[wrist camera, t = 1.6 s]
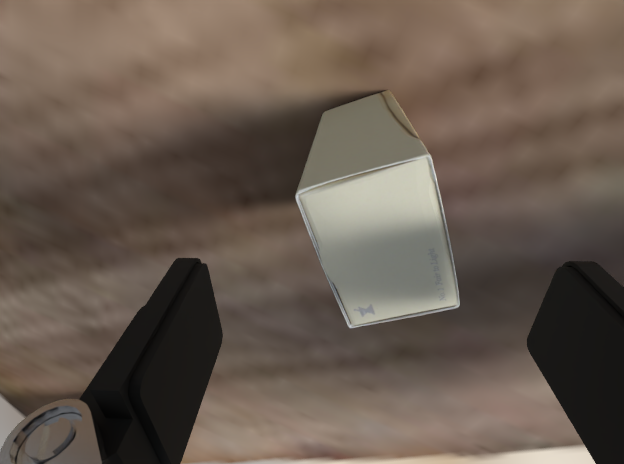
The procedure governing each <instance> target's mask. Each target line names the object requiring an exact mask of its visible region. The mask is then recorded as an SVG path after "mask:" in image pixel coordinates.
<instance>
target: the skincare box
mask: <svg viewBox="0 0 624 464" xmlns="http://www.w3.org/2000/svg"><path fill="white" fill-rule="evenodd" d="M295 198H296V201H297V204H298V207H299V209H300V212H301V215H302V217H303V220H304V222H305V225H306V228H307V230H308V232H309V235H310V238H311V240H312V243H313V245H314V248H315V251H316V253H317V256H318V258H319V261H320V263H321V266H322V268H323V270H324V273H325V275H326V277H327V279H328V282H329V284H330V287H331V289H332V291H333V293H334V295H335V298H336V300H337V302H338V305H339V307H340V309H341V311H342V314H343V316H344V318H345V320H346V323H347V325H348V327H349V328H355V327H360V326H366V325H372V324H377V323H384V322H388V321H394V320H399V319H405V318H410V317H416V316H421V315H426V314H430V313H435V312H440V311H445V310H450V309H455V308H457V307H459V305H460V301H459V291H458V284H457V278H456V271H455V265H454V260H453V254H452V249H451V244H450V239H449V234H448V229H447V224H446V219H445V214H444V210H443V205H442V200H441V196H440V191H439V187H438V182H437V178H436V174H435V170H434V166H433V161H432V158H431V155H430V154H429V153H428V151H427V149H426V148H425V146H424V144H423V143H422V141H421V140H420V138H419V136H418V135H417V133H416V131H415V130H414V128H413V127H412V125H411V123H410V122H409V120H408V119H407V117H406V115H405V114H404V112H403V110H402V109H401V107H400V106H399V104H398V102H397V101H396V99H395V98H394V96H393V95H392V93H391V92H390V91H389V90H387V91H384V92H381V93H378V94H375V95H371V96H368V97H365V98H362V99H359V100H356V101H353V102H350V103H347V104H344V105H341V106H339V107H336V108H333V109H330V110H328V111H325V112H324V113H323V115H322V117H321V120H320V123H319V126H318V129H317V132H316V136H315V138H314V141H313V144H312V147H311V150H310V153H309V156H308V159H307V162H306V165H305V168H304V171H303V174H302V177H301V180H300V183H299V186H298V189H297V192H296V195H295Z"/></svg>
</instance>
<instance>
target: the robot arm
mask: <svg viewBox="0 0 624 464" xmlns="http://www.w3.org/2000/svg"><path fill="white" fill-rule="evenodd" d="M222 337H223V334H222V328H221V324H220V319H219V315H218V310H217V306H216V301H215V297H214V293H213V288H212V284H211V279H210V275H209V270H208V267H207V265H206V264H205V263H201V261H200V259H198V258H177V259H176V260H175V261H174V262H173V264H172V266H171V267H170V269H169V270H168V272H167V273H166V275H165V276H164V278H163V279H162V281H161V282H160V284H159V285H158V287H157V288H156V290H155V291H154V293H153V294H152V296H151V297H150V299H149V300H148V302H147V304H146V305H145V306H144V307H142V308H141V309H140V310H139V311H138V312H137V314H136V315H135V317H134V318H133V320H132V321H131V323H130V324H129V326H128V327H127V329H126V330H125V332H124V333H123V335H122V336H121V338H120V339H119V341H118V342H117V344H116V345H115V347H114V348H113V350H112V351H111V353H110V354H109V356H108V357H107V359H106V360H105V362H104V363H103V365H102V366H101V368H100V369H99V371H98V372H97V374H96V375H95V377H94V378H93V380H92V381H91V383H90V384H89V386H88V387H87V389H86V390H85V392H84V393H83V395H82V396H81V398H80V399H79V400H78V399H70V398H69V399H63V400H58V401H55V402H52V403H50V404H47V405H45V406H43V407H41V408H40V409H38V410H36V411H35V412H33V413H31V414H30V415H29V416H27V417H26V418H25V419H24V420H23V421H22V422H20V423H19V424H18V425H17V426H16V427H15V429H14V430H13V431H12V432H11V433H10V434H9V436H8V437H7V439H6V441H5V442H4V444H3V446H2V448H1V451H0V464H180V463H181V460H182V458H183V455H184V452H185V449H186V446H187V443H188V440H189V437H190V434H191V431H192V429H193V426H194V423H195V420H196V417H197V414H198V411H199V408H200V405H201V402H202V399H203V396H204V394H205V391H206V388H207V385H208V382H209V379H210V376H211V373H212V370H213V367H214V364H215V362H216V359H217V356H218V353H219V350H220V347H221V344H222ZM527 347H528V350H529V352H530V354H531V356H532V357H533V359H534V361H535V362H536V364H537V366H538V367H539V369H540V371H541V372H542V374H543V376H544V377H545V379H546V381H547V382H548V384H549V386H550V387H551V389H552V391H553V392H554V394H555V396H556V398H557V399H558V401H559V403H560V404H561V406H562V408H563V409H564V411H565V413H566V414H567V416H568V418H569V419H570V421H571V423H572V424H573V426H574V428H575V429H576V431H577V433H578V434H579V436H580V438H581V439H582V441H583V443H584V445H585V446H586V448H587V450H588V451H589V453H590V455H591V456H592V458H593V459H594V461H595V463H596V464H624V287H622V286H621V285H620V284H619V283H618V282H617V281H616V280H615V279H614V278H613V277H611V276H610V275H609V274H608V273H607V272H606V271H605V270H604V269H603V268H602V267H601V266H599V265H598V264H597V263H595V262H582V261H569V262H566V263H565V264H564V265H563V266H562V267H559V268H558V269H557V270H556V272H555V274H554V277H553V279H552V281H551V284H550V286H549V288H548V291H547V293H546V295H545V298H544V300H543V302H542V305H541V307H540V309H539V312H538V314H537V316H536V319H535V321H534V323H533V326H532V328H531V330H530V333H529V335H528V338H527Z"/></svg>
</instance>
